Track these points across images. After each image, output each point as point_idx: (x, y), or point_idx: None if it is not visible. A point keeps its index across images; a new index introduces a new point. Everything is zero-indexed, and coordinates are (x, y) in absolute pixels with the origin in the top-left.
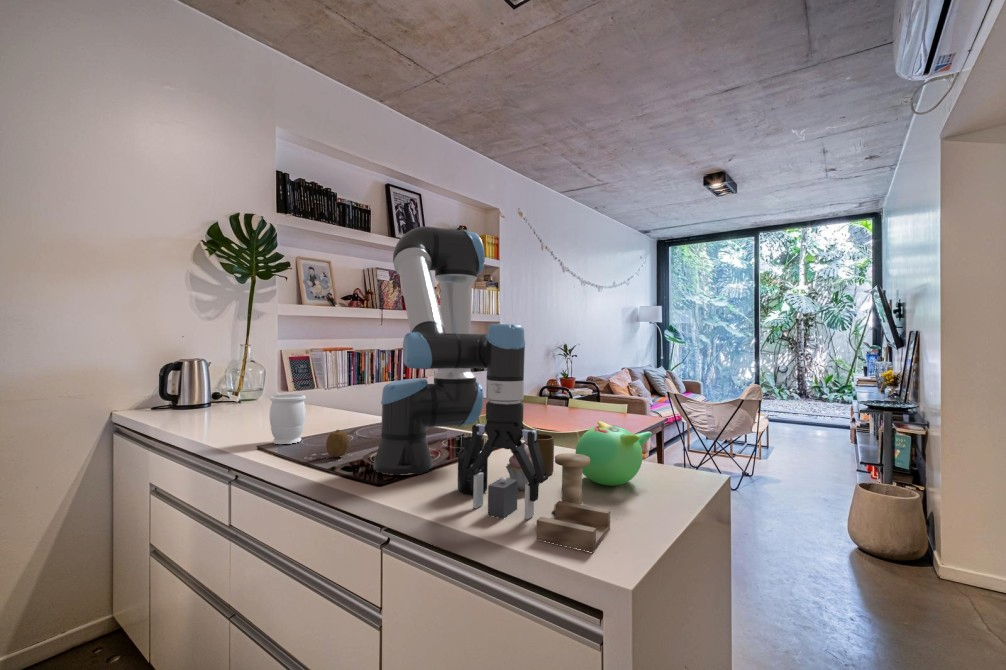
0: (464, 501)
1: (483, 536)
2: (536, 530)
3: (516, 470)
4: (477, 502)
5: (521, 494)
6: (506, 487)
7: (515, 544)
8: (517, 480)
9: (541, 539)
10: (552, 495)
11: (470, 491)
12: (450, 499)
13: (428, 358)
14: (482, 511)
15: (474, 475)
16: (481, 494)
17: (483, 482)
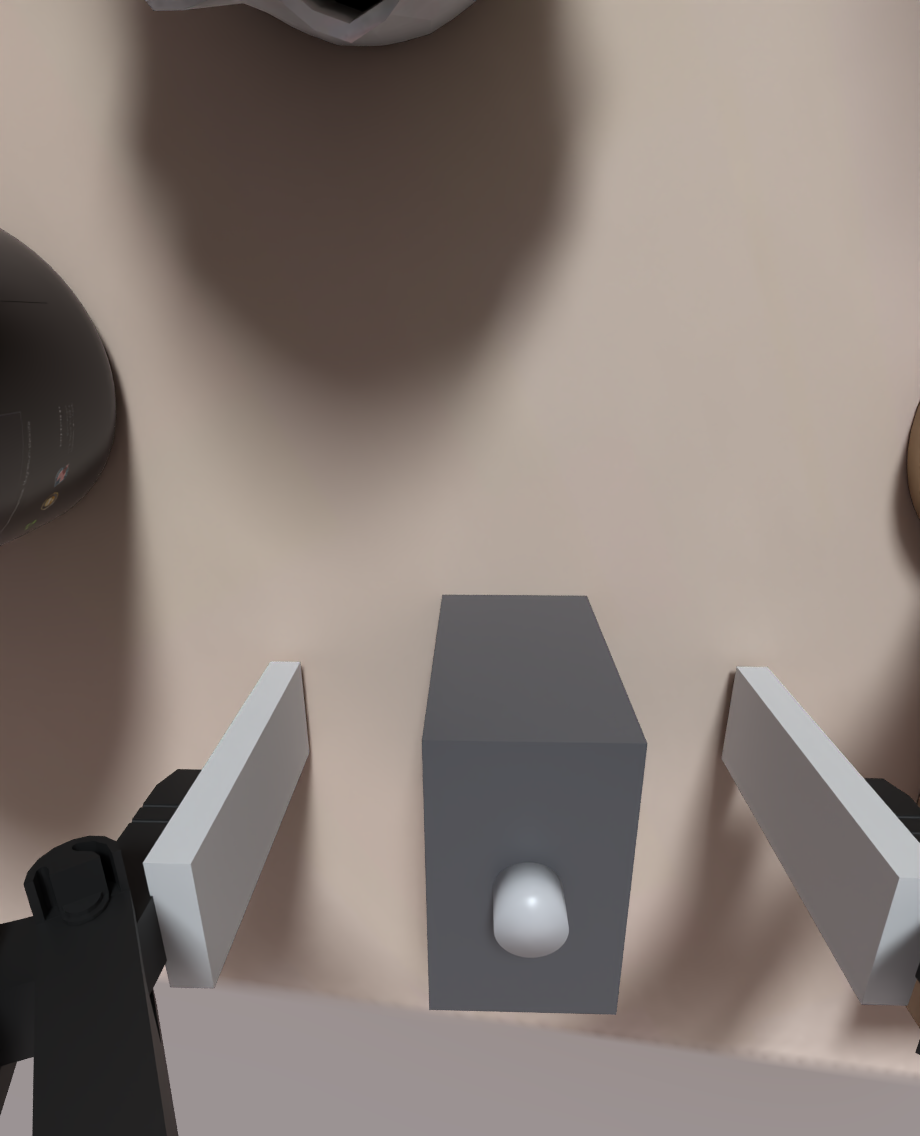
0: (123, 650)
1: (573, 1018)
2: (908, 1010)
3: (289, 1)
4: (297, 765)
5: (458, 193)
6: (619, 969)
7: (771, 1024)
8: (645, 742)
9: None
10: (807, 4)
11: (39, 526)
12: (4, 665)
13: None
14: (369, 751)
15: (174, 982)
16: (277, 739)
17: (56, 434)
